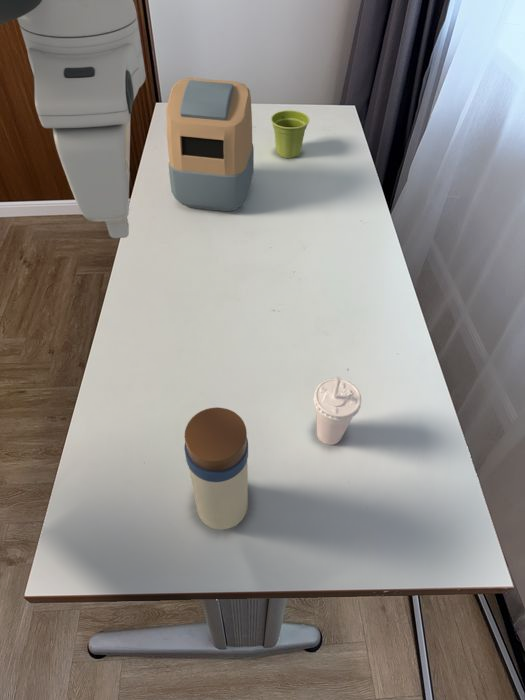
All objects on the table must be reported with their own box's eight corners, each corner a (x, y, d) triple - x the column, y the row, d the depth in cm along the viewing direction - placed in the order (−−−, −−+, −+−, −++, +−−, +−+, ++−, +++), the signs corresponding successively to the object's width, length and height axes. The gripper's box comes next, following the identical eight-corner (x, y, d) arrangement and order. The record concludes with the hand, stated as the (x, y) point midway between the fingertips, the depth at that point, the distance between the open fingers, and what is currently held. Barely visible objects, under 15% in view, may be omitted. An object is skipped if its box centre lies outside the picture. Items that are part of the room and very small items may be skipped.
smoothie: (300, 423, 76) (308, 366, 65) (337, 410, 78) (351, 351, 67) (320, 459, 72) (332, 404, 61) (359, 444, 74) (377, 387, 63)
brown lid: (221, 483, 52) (220, 472, 50) (173, 450, 55) (171, 438, 53) (258, 438, 56) (258, 427, 54) (212, 409, 58) (211, 397, 56)
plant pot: (266, 159, 126) (267, 125, 119) (274, 141, 132) (275, 108, 125) (302, 164, 125) (305, 130, 118) (309, 146, 131) (312, 112, 124)
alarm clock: (169, 210, 111) (153, 103, 93) (188, 171, 122) (177, 68, 104) (243, 219, 109) (242, 111, 92) (256, 178, 120) (257, 75, 102)
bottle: (226, 541, 64) (221, 486, 52) (185, 510, 67) (171, 450, 55) (258, 499, 68) (260, 438, 56) (218, 471, 71) (211, 407, 58)
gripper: (60, 17, 47) (95, 156, 58) (31, 117, 34) (82, 272, 45) (128, 15, 48) (150, 152, 58) (125, 112, 35) (154, 266, 45)
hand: (121, 205), depth 51 cm, fingers open, 8 cm apart
